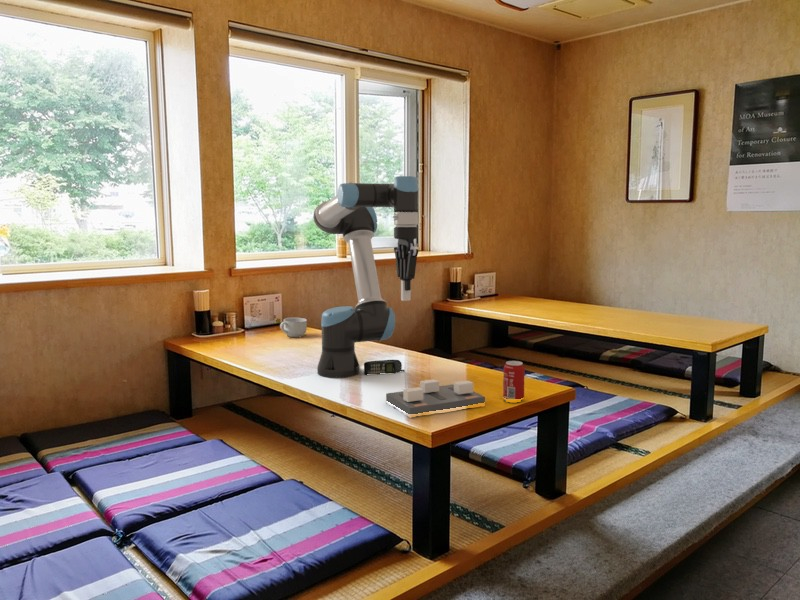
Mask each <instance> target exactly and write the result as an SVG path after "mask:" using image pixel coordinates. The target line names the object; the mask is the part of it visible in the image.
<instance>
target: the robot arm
mask: <svg viewBox="0 0 800 600" xmlns="http://www.w3.org/2000/svg"><path fill="white" fill-rule="evenodd" d="M418 184H419V181H418V177H416V176H414V175H403V176H401V175H400V176H398V175H397V176H395V177H394V179H393V183H358V182H357V183H356V182H346V183H341V184H339V186H338V189H337V192H336V193H337V194H336V196H334V197H332V198H331V199H330V200H329V201H322V202H321V203H320V204H319V205H317V206H316V208H314V212H313V222H314V223H315V226H316V227H317V228H318V229H320V231H322V232H324V233H327V234H330V235H342V236H343V241H344V242H345V243H347V244H348V248H349V252H350V253H349V254H350V261H351V266H352V272H353V277H354V283H355V285H354V286H355V289H356V295H357V301H358V302H357V303H356V305H355V306H350V305H347V306H346V305H345V306H336V307H332V308H328V309H326V310H324V311H323V312H322V314H321V321H320V323H321V324H320V326H321V354H320V357H319V361H318V363H317V367H316V369H317V374H318V375H319V376H321V377H325V376H326V378H347V377H346V376H349V377H353V376H356V375H359V374H360V372H361V370H360V369H361V368H360V367H361V366H360V364H359V363H360V362H359V359H358V357H357V353H356V350H355V343H364V342H376V341H377V342H380V341H383V340H388V339H390V338H391V337H392V335H393V333H394V331H395V326H396V315H395V312H394V309H393V308H392V307H389V306H388V305H387V301H386V300H384V299H383V298H382V295H381V294H382V293H381V291H380V290H381V289H380V283H379V278H378V272H377V267H376V261H375V256H374V250H373V244H372V239H373V237H374V235H375V233H376V231H377V229H378V217H377V213H376V210H375V209H374V208H393V216H392V218H393V225H394V228H393V238H394V239H397V246H396V247H395V246H394V248H393V252H394V255H395V266H396V276H397V278H399V279H400V300H401V301H402V302H406V301H411V300H412V299H411V296H412V295H411V294H412V293H411V292H412V290H411V289H412V288H411V286H412V285H411V283H412V282H411V281H412V280H413V279H415V278H416V277H415V276H416V268H417V260H418V259H417V257H418V254H419V249H418V248H415V241H414V240H415V239H418V237H419V233H418V231H419V228H418V225H419V211H418V209H419V207H418V206H419V185H418ZM352 375H353V376H352Z"/></svg>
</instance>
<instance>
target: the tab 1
mask: <svg viewBox="0 0 800 600" xmlns="http://www.w3.org/2000/svg"><path fill="white" fill-rule="evenodd" d="M402 391H403V399H404V400H405V401H407V402H411V401H418V400H423V389H421V388H420V386H417V387H410V388H409V387H408V388H403V389H402Z"/></svg>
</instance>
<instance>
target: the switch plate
mask: <svg viewBox="0 0 800 600" xmlns="http://www.w3.org/2000/svg"><path fill="white" fill-rule="evenodd" d="M386 401H388V402H390V403H391V404H393V405H395V406H396V407H398V408H400V409H401V410H403V411H405V412H406V413H408V414H418V413H423V412H429V411H436V410H443V409H450V408H456V407H462V406H468V405H473V404H478V403H484V402H485V403H486V396H484V395H483V394H480V393H478V392H476V391H474V390H473V393H466V394H457V393H455V392H454V383H453V384H452V383H451V384H446V385H439V391H437V392H430V393H423V400H418V401H411V402H407V401H405V400H404V399H403V390H402V391H395V392H388V393H386V394H385V402H386Z"/></svg>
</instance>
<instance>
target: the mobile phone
mask: <svg viewBox="0 0 800 600" xmlns="http://www.w3.org/2000/svg"><path fill="white" fill-rule="evenodd" d="M402 366H403V365H402V362H401V360H399V359H383V360H382V359H380V360H369V361H365V362H364V363H363V374H364V376H368V375H367V374H377V375H381V374H380V373H394V374H396V372H397V373H399V372H400V371H403V372H405V369H403V367H402ZM400 373H401V372H400Z"/></svg>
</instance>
